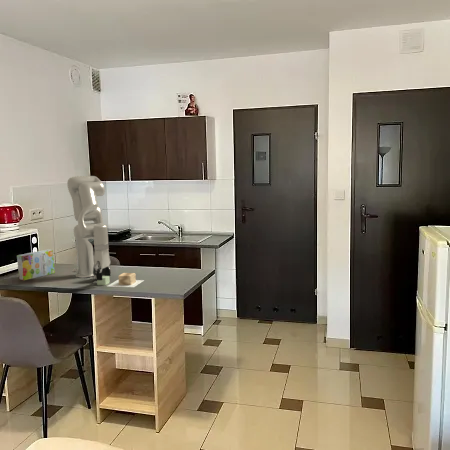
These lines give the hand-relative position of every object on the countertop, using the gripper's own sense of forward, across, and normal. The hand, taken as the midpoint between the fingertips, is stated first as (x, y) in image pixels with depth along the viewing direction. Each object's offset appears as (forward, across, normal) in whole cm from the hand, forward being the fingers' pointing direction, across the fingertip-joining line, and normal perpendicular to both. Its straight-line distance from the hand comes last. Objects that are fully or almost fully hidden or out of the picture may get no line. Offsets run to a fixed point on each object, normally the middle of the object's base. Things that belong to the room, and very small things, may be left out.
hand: (103, 278), depth 254 cm
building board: (+4, -3, +11) cm, 13 cm away
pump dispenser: (+4, -14, -8) cm, 16 cm away
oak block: (+4, -3, +12) cm, 13 cm away
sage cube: (+4, -1, -1) cm, 5 cm away
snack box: (+3, -18, -53) cm, 56 cm away
